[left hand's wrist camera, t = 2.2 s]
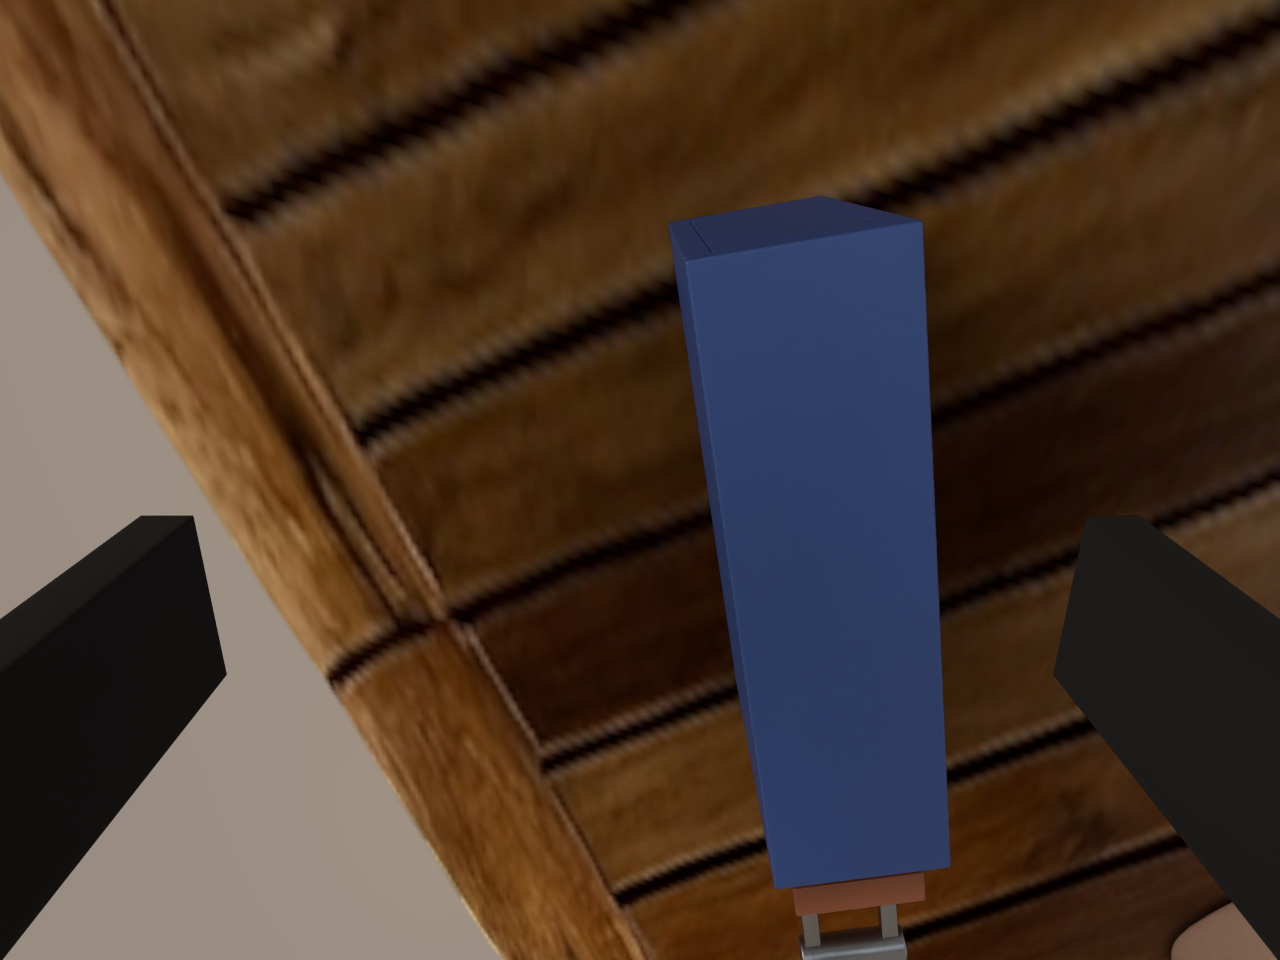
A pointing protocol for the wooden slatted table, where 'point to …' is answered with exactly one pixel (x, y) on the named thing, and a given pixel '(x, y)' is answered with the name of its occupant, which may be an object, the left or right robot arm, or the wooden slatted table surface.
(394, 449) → the wooden slatted table surface
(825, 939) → the drawer
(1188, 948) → the anatomical model
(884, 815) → the cabinet
